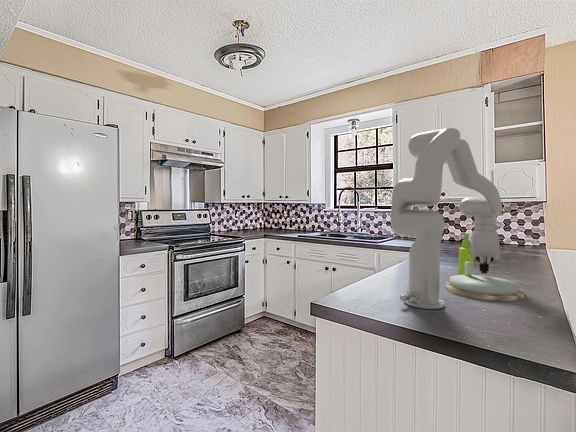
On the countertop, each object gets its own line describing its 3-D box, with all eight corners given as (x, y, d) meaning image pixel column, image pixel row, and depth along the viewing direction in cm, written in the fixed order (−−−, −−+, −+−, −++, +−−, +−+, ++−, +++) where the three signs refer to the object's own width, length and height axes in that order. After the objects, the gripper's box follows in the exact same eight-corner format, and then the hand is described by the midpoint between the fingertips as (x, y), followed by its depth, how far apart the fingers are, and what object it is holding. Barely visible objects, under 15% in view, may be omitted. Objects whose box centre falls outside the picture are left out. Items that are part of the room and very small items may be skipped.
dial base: (501, 306, 107) (502, 300, 107) (431, 288, 129) (431, 283, 129) (537, 294, 120) (537, 290, 120) (468, 280, 143) (468, 276, 143)
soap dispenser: (468, 274, 153) (469, 232, 152) (475, 278, 146) (476, 234, 145) (455, 274, 154) (456, 232, 153) (461, 277, 147) (462, 233, 146)
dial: (535, 295, 113) (536, 273, 113) (470, 295, 113) (471, 273, 113) (492, 279, 136) (493, 261, 136) (438, 279, 136) (439, 261, 136)
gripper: (503, 228, 133) (502, 272, 134) (462, 227, 138) (461, 269, 139) (509, 229, 126) (508, 276, 127) (466, 228, 131) (465, 273, 132)
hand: (483, 272), depth 133 cm, fingers closed
